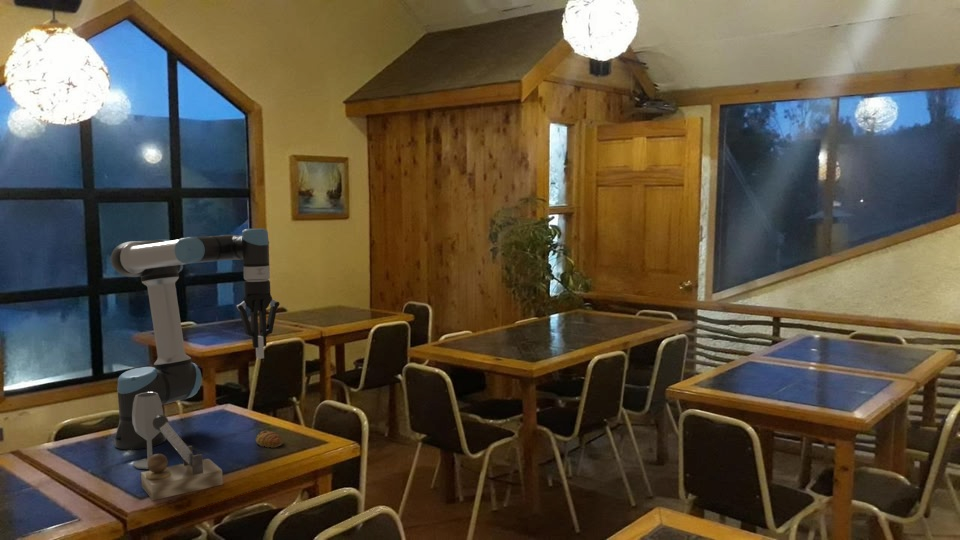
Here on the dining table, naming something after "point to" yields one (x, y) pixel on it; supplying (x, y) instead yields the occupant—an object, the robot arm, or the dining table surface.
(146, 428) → the wineglass
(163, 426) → the lever
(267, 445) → the pastry
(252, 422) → the dining table surface
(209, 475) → the nutcracker base
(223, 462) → the dining table surface
